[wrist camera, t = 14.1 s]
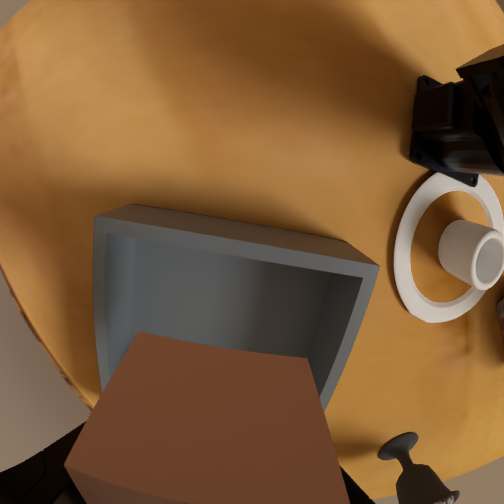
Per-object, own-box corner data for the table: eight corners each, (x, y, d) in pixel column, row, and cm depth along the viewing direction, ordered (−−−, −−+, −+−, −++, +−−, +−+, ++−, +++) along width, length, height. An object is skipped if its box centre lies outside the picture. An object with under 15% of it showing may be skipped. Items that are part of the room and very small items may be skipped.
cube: (307, 357, 8) (350, 504, 3) (270, 453, 10) (279, 561, 5) (139, 331, 8) (63, 464, 3) (144, 434, 9) (112, 538, 4)
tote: (346, 241, 18) (379, 265, 13) (282, 433, 22) (288, 477, 17) (132, 203, 17) (94, 215, 12) (130, 409, 21) (113, 450, 16)
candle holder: (403, 342, 20) (428, 372, 16) (368, 197, 17) (401, 205, 13) (502, 280, 19) (531, 296, 15) (484, 150, 17) (521, 150, 12)
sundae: (381, 434, 23) (431, 550, 8) (432, 421, 23) (490, 517, 9) (363, 467, 25) (397, 569, 10) (411, 456, 25) (452, 544, 10)
